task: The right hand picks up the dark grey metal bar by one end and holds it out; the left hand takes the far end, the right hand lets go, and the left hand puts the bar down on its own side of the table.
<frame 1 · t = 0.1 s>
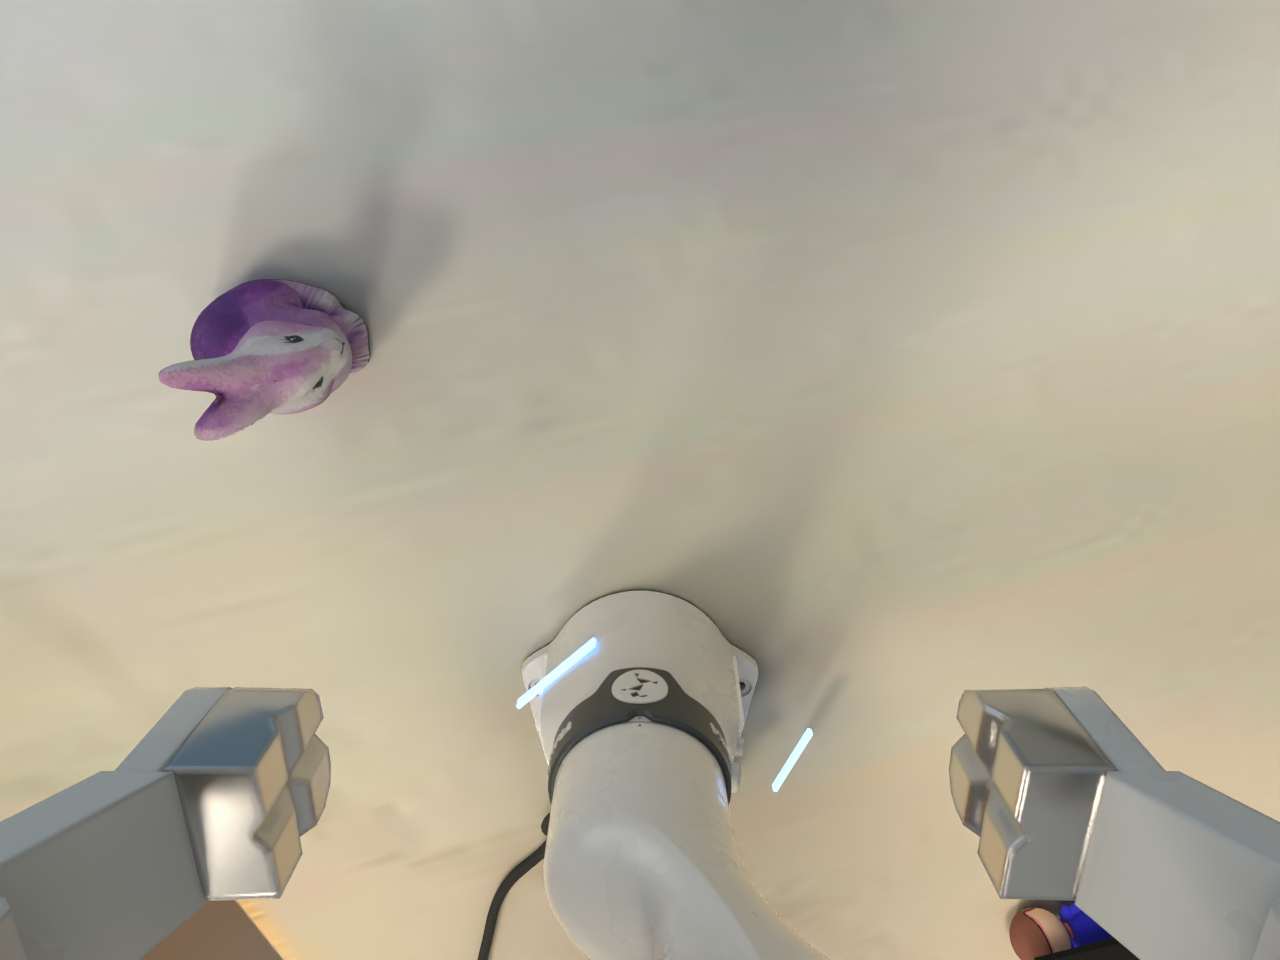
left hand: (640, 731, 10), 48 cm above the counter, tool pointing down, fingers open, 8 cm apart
figurine character: (1083, 901, 75), on the counter
figurine: (305, 331, 57), on the counter
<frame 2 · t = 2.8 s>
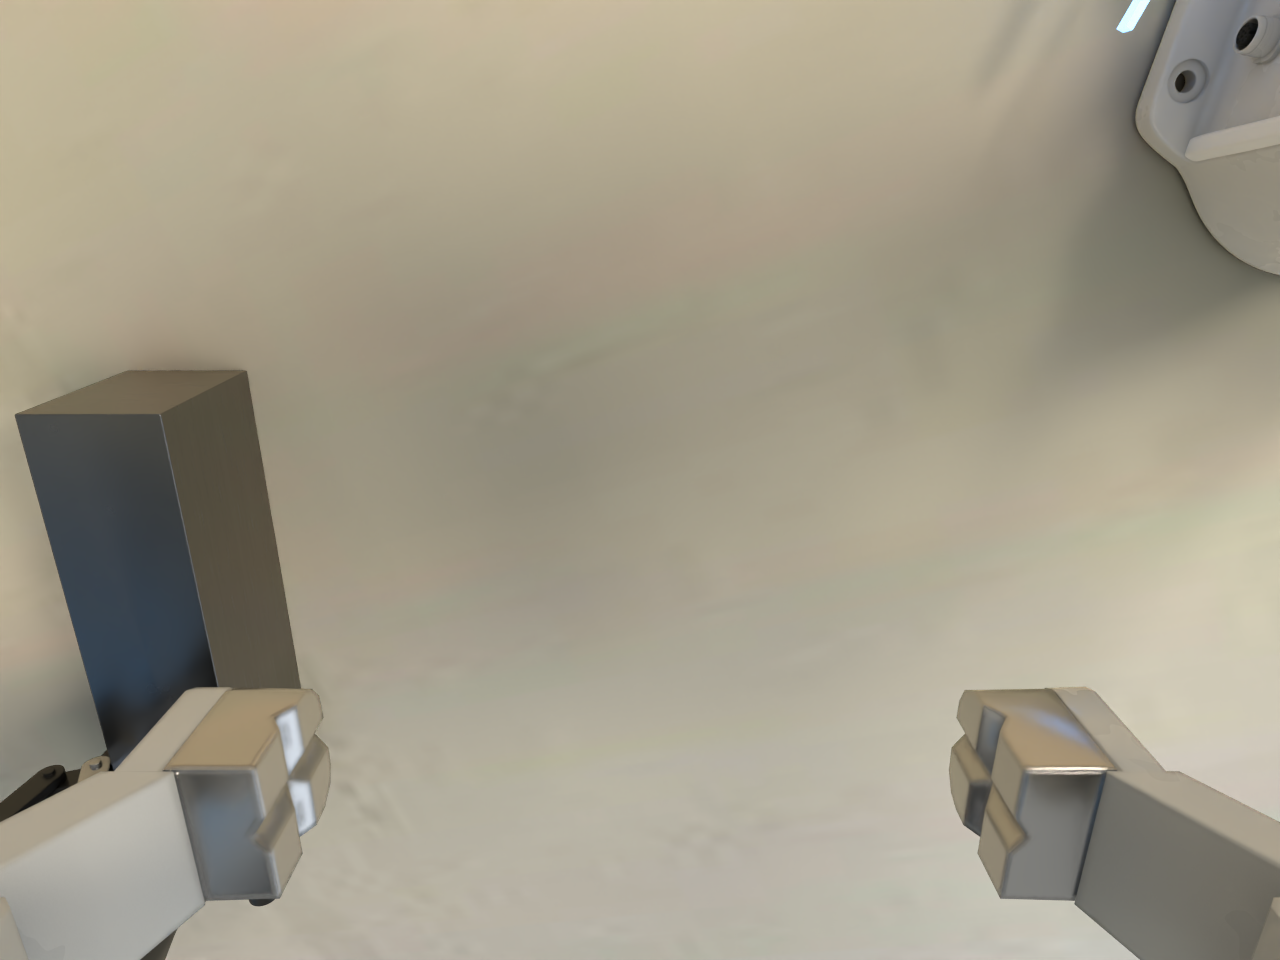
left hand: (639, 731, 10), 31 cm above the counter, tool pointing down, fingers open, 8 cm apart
bar: (227, 575, 44), on the counter, touching right hand
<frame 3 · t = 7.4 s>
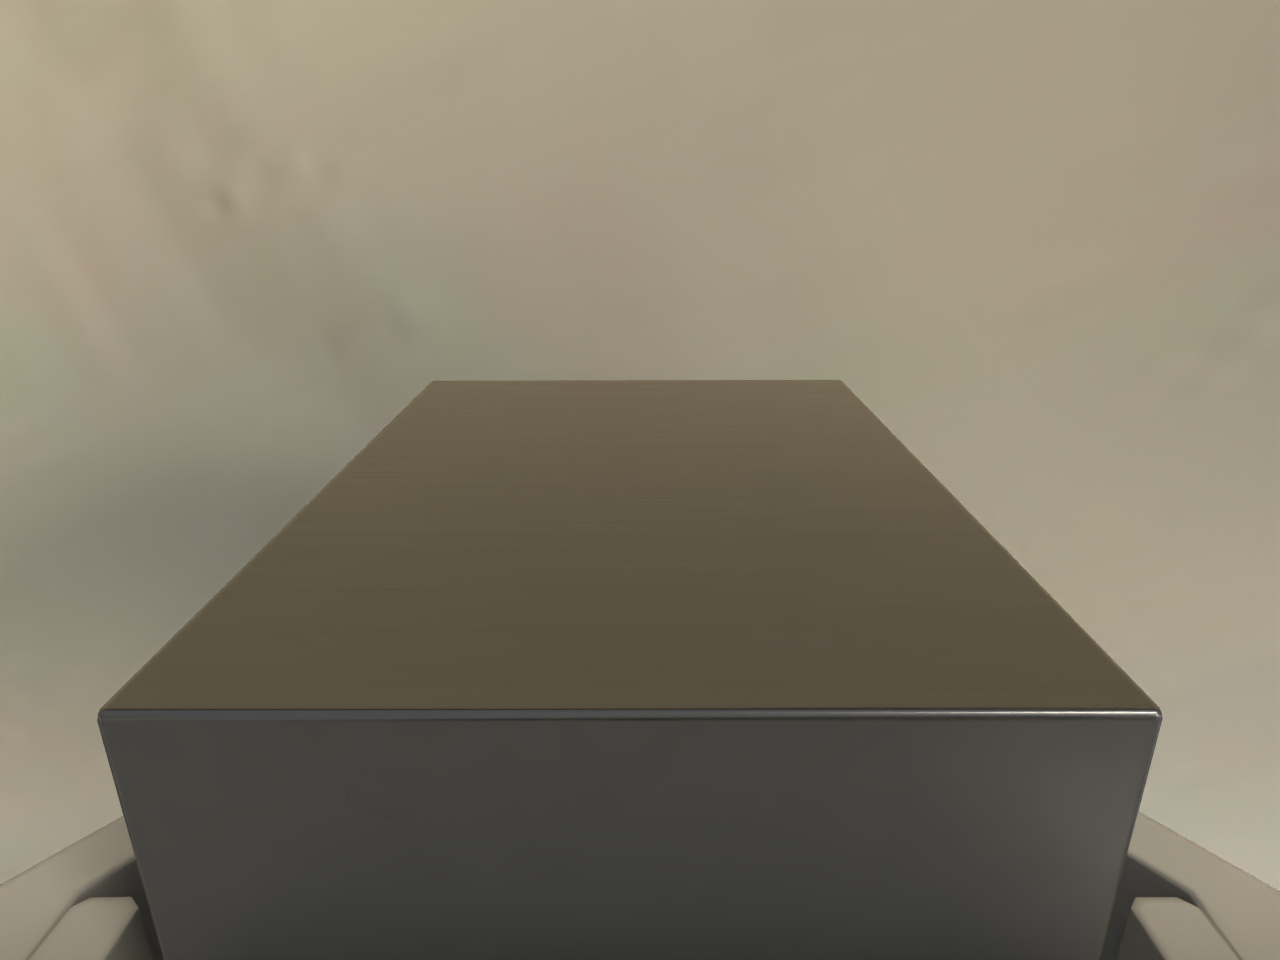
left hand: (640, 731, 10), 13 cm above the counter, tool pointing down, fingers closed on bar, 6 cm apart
bar: (638, 955, 16), point 10 cm above the counter, touching left hand, right hand
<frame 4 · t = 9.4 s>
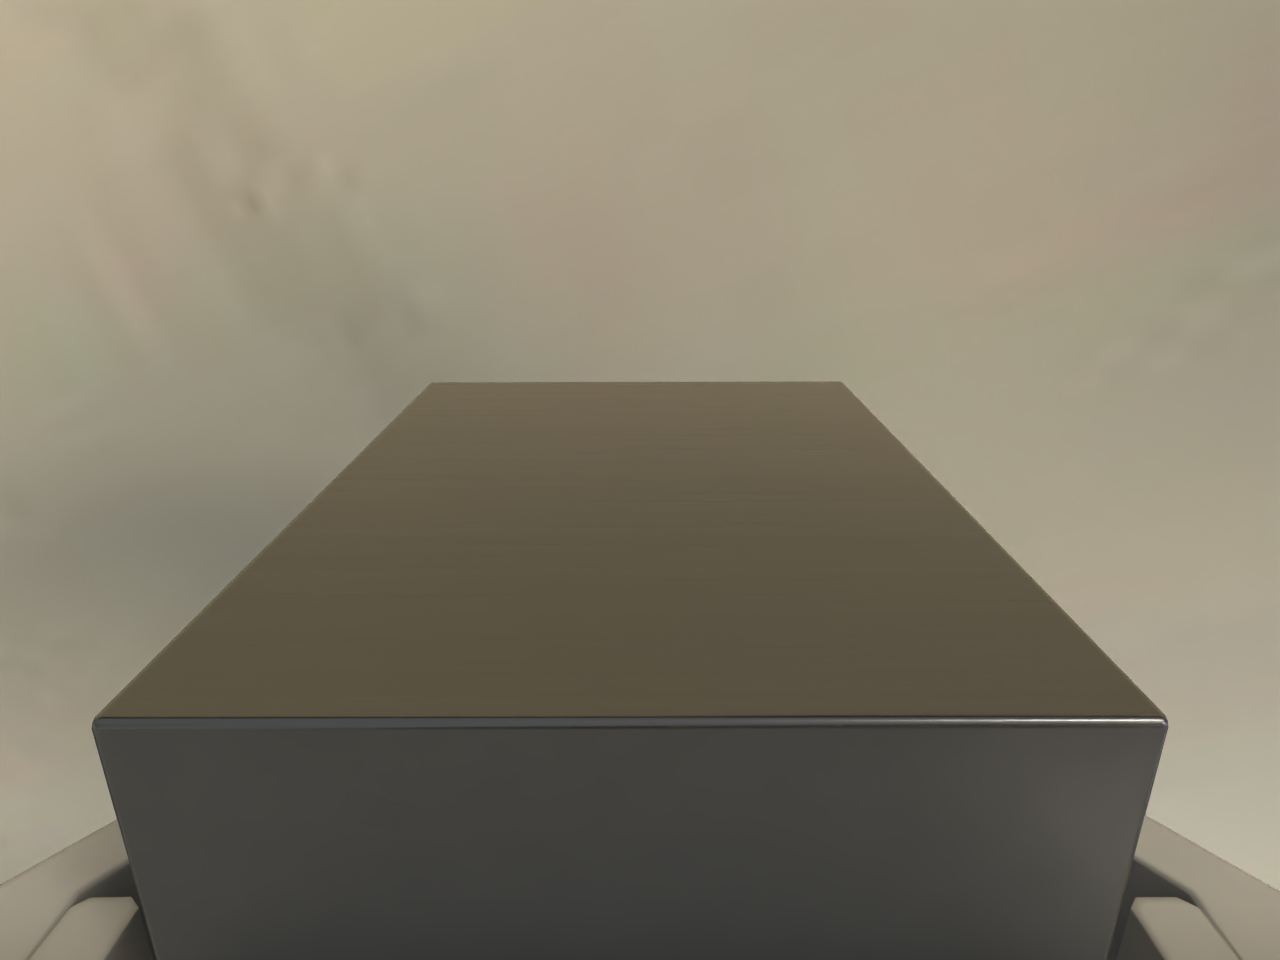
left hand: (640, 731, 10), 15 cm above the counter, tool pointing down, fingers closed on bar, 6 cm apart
bar: (638, 958, 16), point 12 cm above the counter, touching left hand
when the left hand's fingers open (4 cm above the counter, at t = 13.0 s): bar stays where it is, on the counter.
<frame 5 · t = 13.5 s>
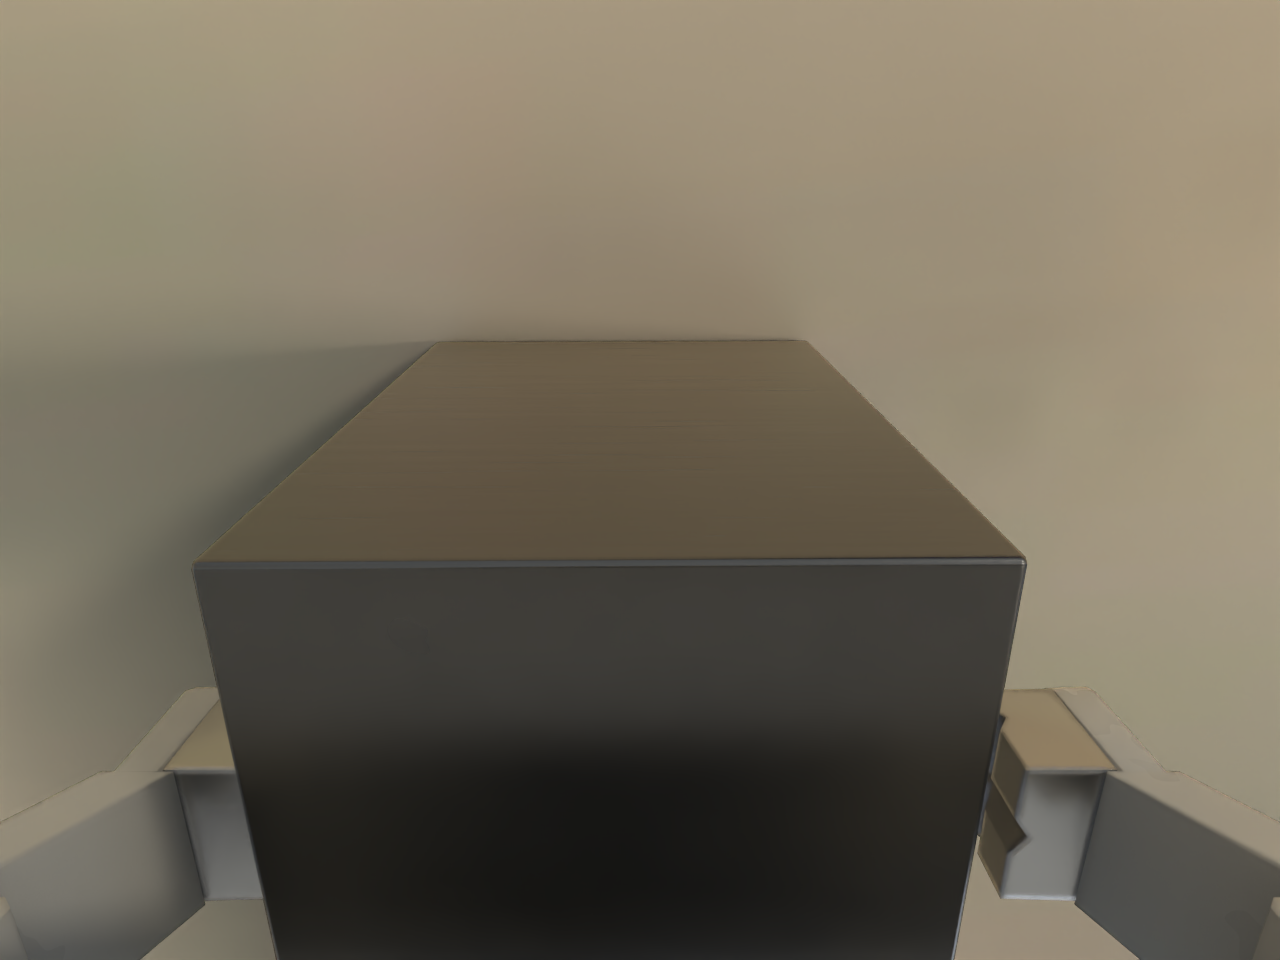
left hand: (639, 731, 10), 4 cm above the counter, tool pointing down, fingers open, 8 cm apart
bar: (627, 880, 17), on the counter
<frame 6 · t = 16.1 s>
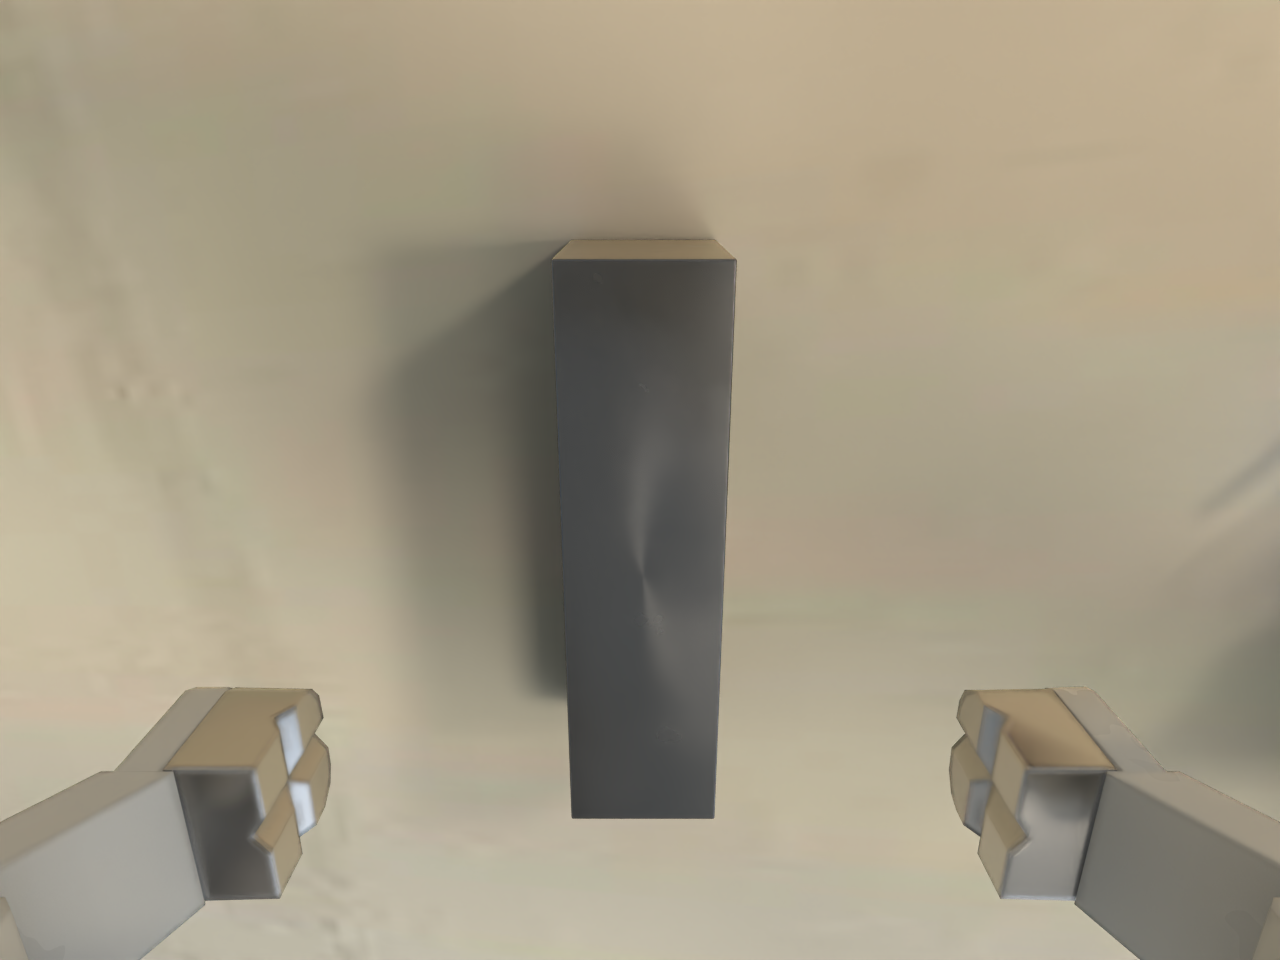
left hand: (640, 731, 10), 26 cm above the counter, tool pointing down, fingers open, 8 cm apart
bar: (642, 496, 37), on the counter
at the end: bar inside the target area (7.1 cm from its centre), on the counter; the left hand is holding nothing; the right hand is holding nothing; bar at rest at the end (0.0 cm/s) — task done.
